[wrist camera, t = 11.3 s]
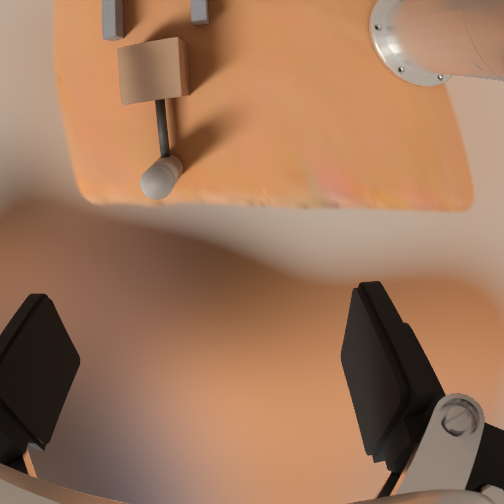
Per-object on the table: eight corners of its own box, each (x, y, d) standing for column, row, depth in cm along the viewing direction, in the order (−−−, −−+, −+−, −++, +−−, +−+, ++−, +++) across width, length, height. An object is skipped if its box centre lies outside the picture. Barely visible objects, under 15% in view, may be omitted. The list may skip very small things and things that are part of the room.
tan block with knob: (187, 43, 28) (174, 34, 22) (197, 177, 36) (188, 197, 30) (133, 52, 28) (111, 47, 22) (147, 182, 36) (130, 202, 30)
